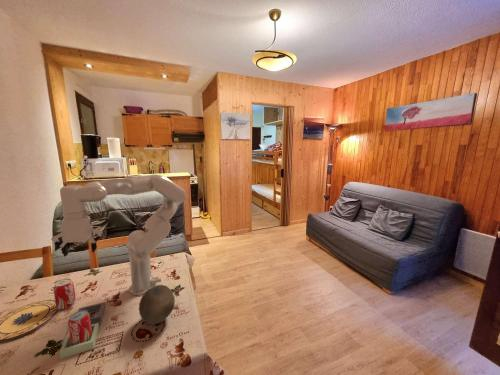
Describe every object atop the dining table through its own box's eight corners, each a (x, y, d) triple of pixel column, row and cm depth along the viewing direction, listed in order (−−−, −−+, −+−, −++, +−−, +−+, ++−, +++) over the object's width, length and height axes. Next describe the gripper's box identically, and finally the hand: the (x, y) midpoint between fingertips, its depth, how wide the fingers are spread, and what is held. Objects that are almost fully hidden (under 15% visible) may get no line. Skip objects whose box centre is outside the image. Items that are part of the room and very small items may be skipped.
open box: (105, 307, 98) (104, 302, 97) (93, 348, 78) (92, 341, 77) (79, 314, 94) (79, 308, 93) (60, 358, 74) (59, 351, 73)
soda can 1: (64, 312, 95) (61, 288, 93) (52, 309, 96) (48, 285, 94) (80, 301, 102) (76, 278, 100) (68, 299, 103) (64, 276, 101)
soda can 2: (96, 339, 82) (92, 312, 79) (76, 352, 76) (72, 324, 74) (88, 332, 85) (84, 306, 83) (68, 344, 79) (64, 316, 77)
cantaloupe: (136, 337, 83) (133, 303, 80) (144, 311, 96) (141, 281, 94) (174, 329, 87) (172, 297, 84) (176, 305, 100) (175, 276, 98)
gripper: (101, 210, 95) (105, 245, 98) (52, 214, 88) (58, 252, 91) (98, 215, 89) (102, 252, 92) (44, 220, 81) (50, 261, 84)
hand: (80, 252), depth 91 cm, fingers open, 9 cm apart
